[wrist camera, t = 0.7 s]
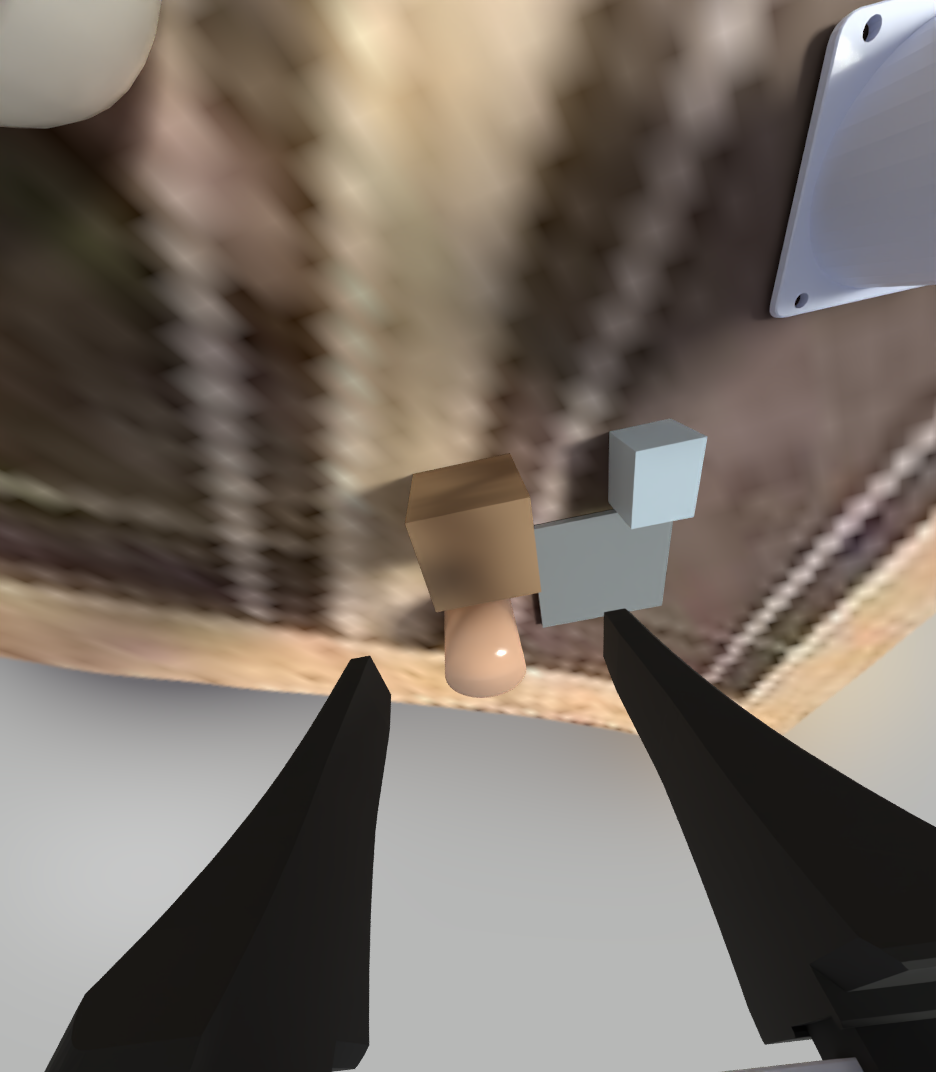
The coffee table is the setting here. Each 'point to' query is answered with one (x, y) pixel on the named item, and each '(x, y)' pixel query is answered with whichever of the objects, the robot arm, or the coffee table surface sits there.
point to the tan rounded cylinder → (483, 649)
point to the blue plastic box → (655, 472)
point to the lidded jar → (70, 57)
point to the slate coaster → (599, 566)
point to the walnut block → (473, 533)
